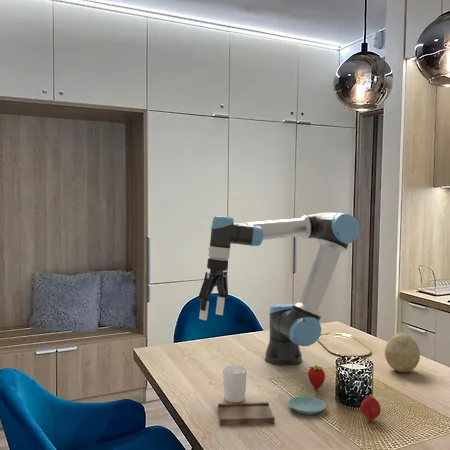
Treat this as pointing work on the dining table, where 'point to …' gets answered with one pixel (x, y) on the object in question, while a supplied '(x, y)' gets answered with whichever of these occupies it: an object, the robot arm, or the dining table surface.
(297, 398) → the saucer
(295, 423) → the dining table surface
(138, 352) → the dining table surface
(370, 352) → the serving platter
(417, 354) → the fossilized egg
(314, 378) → the strawberry
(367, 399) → the red rounded fruit
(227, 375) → the white cup
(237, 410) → the walnut board
